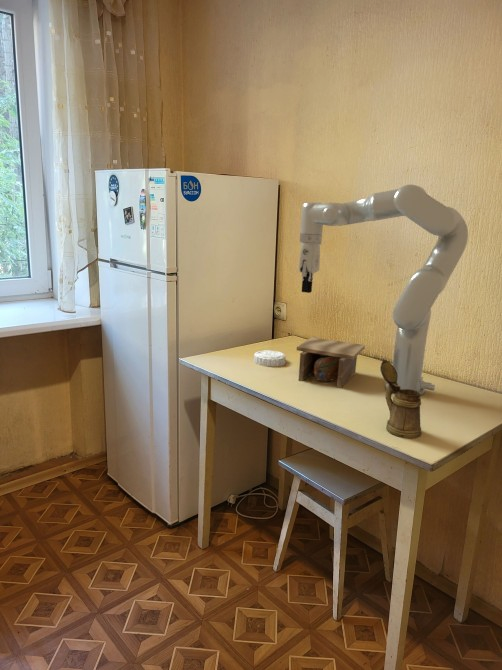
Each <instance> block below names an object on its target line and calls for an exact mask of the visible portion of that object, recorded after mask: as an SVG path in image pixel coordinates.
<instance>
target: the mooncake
mask: <svg viewBox="0 0 502 670" xmlns="http://www.w3.org/2000/svg"><path fill="white" fill-rule="evenodd" d="M253 357H254V358H253V362H254V363H255V364H256V365H259V366H264V367H273V368H274V367H280V366H284V365H285V364H286V361H287V360H286V358H287V356H286V354H284V353H283V352H281V351H278V350H269V349H265V350H264V349H263V350H260V351H259V350H258V351H256V352H255V353H254V354H253Z"/></svg>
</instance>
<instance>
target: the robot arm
mask: <svg viewBox="0 0 502 670" xmlns="http://www.w3.org/2000/svg"><path fill="white" fill-rule="evenodd" d="M301 206H302V207H301V219H300V220H301V221H300V231H299V232H300V234H299V244H301V245H300V246H301V247H300V252H299V253H300V254H299V260H298V262H299V263H298V271H299V272H300V273H301V277H302V281H301V282H302V283H301V292H302V293H307V294H311V293H312V289H313V279H314V274H315V273H317V272H319V270H320V263H321V261H320V260H321V258H320V257H321V245H322V240H323V227H324V226H329V227H341V226H342V227H343V226H348V225H354V224H360V223H365V222H376V221H381V220H387V219H388V220H389V219H392V218H393V219H394V218H399V217H406V218H407V219H409V220H410V221H412V222H413V223H414V224H416V225H418V226H419V227H420V228H422V229H424V230H425V231H426V232H428V233H430V234H431V235H433V236H435V237H436V236H437V240H436V243H435V245H434V246H433V248H432V250H431V252H430V253H429V256H428V257H427V259H426V260H425V262H424V264H423V266H422V267H421V268H420V269H418V270H416V271H415V272H414V273H413V274H412V275H411V277H410V279H409V281H408V282H407V283H406V286H405V288H404V290H403V291H402V292H401V295H400V296H399V299H398V300H397V302H396V304H395V306H394V308H393V311H392V319H393V322H394V324H395V325H396V326H397V328H396V333H395V334H396V335H395V342H394V347H393V348H394V349H393V351H394V352H393V357H392V358H393V359H392V365H393V366H394V368H395V370H396V372H397V376H398V377H397V384H398V386H400V388H401V390H402V389H410V390H415V391H417V392H419V393H420V396H422V395H424V394H425V390H429V391H432V392H434V391H435V387H436V385H435V384H432V382H429V381H428V382H426V381H424V377H422V374H423V367H424V358H425V352H426V346H427V337H428V333H429V332H428V331H429V328H430V327H429V326H430V321H431V314H432V307H433V305H434V303H435V302H436V300H437V298H438V297H439V295H440V294H442V292H443V291H444V290H445V288H446V286H447V284H448V281H449V279H450V277H451V276H452V274H453V272H454V271H455V269H456V267H457V266H458V263H459V261H460V260H461V258H462V256H463V254H464V251H465V249H466V246H467V244H468V241H469V240H468V239H469V231H468V226H467V223H466V220H465V219H464V217H463V216H462V215H461V213H459V211H458V210H457V209H455V208H453V207H451V206H446V205H444V204H443V203H441V202H440V201H439V200H436V199H435V198H434V197H433V196H431V195H429V194H428V193H427V191H426V190H425V189H424V188H423V187H421V186H420V185H416V184H405V185H403V186H401V187H399V188H396V189H391V190H385V191H380V192H375V193H372V194H370V195H368V196H367V197H366V198H362V199H359V200H353V201H348V202H343V203H341V202H340V203H339V202H326V203H321V202H310V201H309V202H307V201H306V202H304V203H303V204H302V205H301ZM388 385H389V384H388V383H387V382H385V386H384V387H385V389H386V388H387V386H388Z"/></svg>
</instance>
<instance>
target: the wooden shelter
mask: <svg viewBox="0 0 502 670" xmlns="http://www.w3.org/2000/svg"><path fill="white" fill-rule="evenodd" d="M365 349H366V345H365V344H359V343H355V342H354V343H351V342H346V341H339V340H333V339H326V338H320V337H313V336H312V337H310V338H308V339H307V340H305V341H304V342H302V343H300V344H299V345H298V346H296V351H299V352H300V353H299V355H300V356H299V368H298V369H299V370H298V381H301V382H303V381H305V380H306V379H307V378H308V377H309V376H311V375H312V374H314V365H315V362H316V361H317V360H318V359H319V358H321V357H325V356H335V357H341V359H339V368H338V379H336V380H337V381H336V389H337V388H339V389H342V388H343V387H344V386H345V384H347V383H348V381H349V380H350V379H352V377H353V376H354V375H355V374H356V370H357V359H358V356H359V355H360V354H361V353H362V351H364V350H365Z"/></svg>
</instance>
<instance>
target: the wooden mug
mask: <svg viewBox="0 0 502 670" xmlns="http://www.w3.org/2000/svg"><path fill="white" fill-rule="evenodd" d="M379 367H380V369H379V371H380V373H381V374H380V375H381V376H382V378H383V379H384V381H385V383H388V384H389V385H388V386H387V388H385V393H384V397H385V401H386V404H387V407H388V410H389V419H388V420H387V421H386V431H387V432H389V434H391V435H393V436H395V437H399V438H405V439H414V438H415V439H416V438H419V437H420V436H422V426H421V405H422V399H421V395H420V393H419V392H417V391H415V390H410V389H402V390H401V388H400V386H398V384H397V377H398V376H397V372H396V370H395V368H394V366H393V363H391V362H390V361H387V360H386V359H382V361H381V364H380V366H379ZM393 395H394V396H393ZM392 396H393V397H392Z"/></svg>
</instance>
